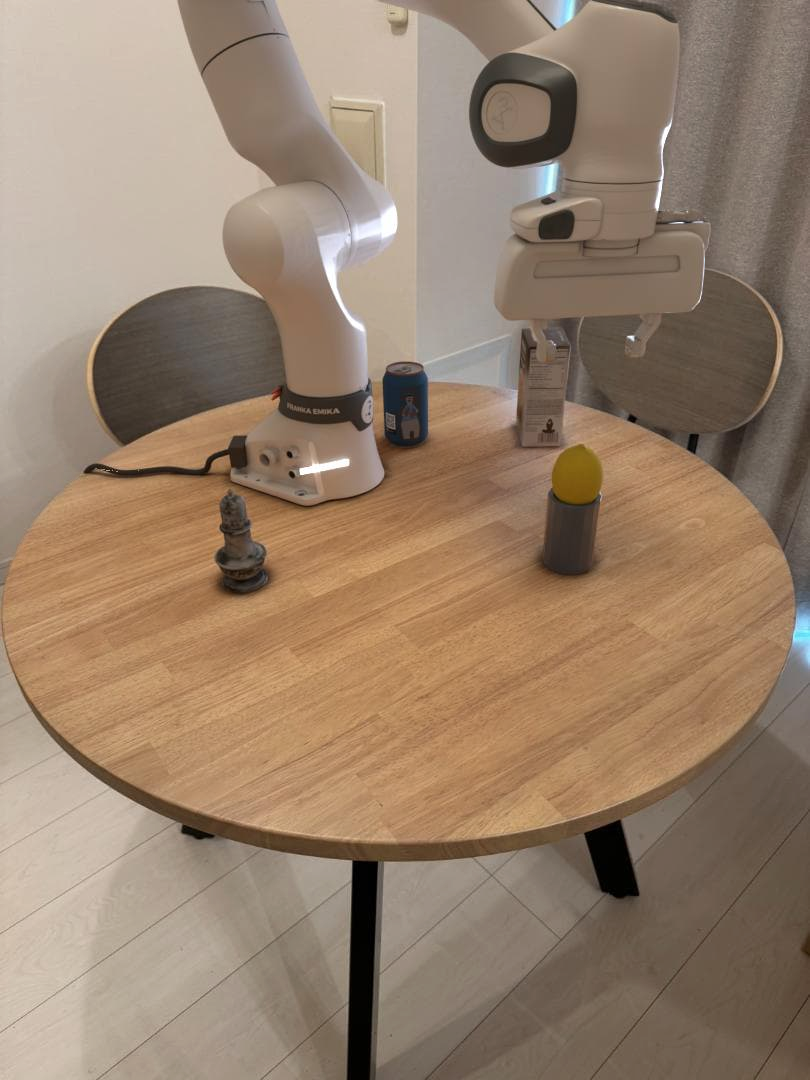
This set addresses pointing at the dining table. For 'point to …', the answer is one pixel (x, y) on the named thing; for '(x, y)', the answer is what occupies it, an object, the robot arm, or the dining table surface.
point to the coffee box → (542, 390)
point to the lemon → (577, 475)
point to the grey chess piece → (239, 548)
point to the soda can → (405, 404)
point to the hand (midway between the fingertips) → (589, 357)
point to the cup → (570, 535)
